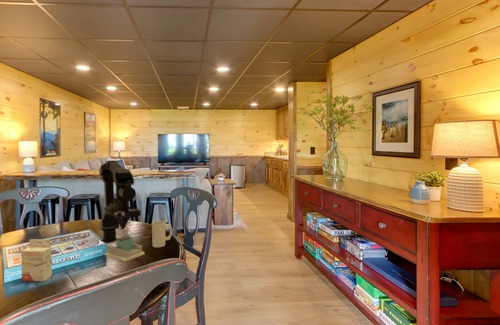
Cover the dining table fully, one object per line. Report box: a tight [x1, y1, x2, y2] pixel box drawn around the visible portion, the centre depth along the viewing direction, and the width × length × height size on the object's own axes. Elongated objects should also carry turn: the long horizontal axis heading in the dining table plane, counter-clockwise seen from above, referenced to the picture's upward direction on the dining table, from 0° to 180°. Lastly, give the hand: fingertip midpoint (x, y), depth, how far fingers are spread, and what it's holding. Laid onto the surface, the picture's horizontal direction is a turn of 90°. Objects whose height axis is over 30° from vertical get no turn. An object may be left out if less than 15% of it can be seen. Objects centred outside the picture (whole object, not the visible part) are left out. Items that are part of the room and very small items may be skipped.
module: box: [115, 235, 134, 251], centre depth 142 cm, size 6×4×6 cm, turn 149°
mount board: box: [104, 243, 145, 263], centre depth 143 cm, size 14×11×4 cm
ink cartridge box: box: [20, 238, 53, 282], centre depth 116 cm, size 9×5×15 cm, turn 92°
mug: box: [151, 220, 173, 249], centre depth 157 cm, size 10×7×12 cm, turn 103°
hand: (122, 229), depth 145 cm, fingers closed
